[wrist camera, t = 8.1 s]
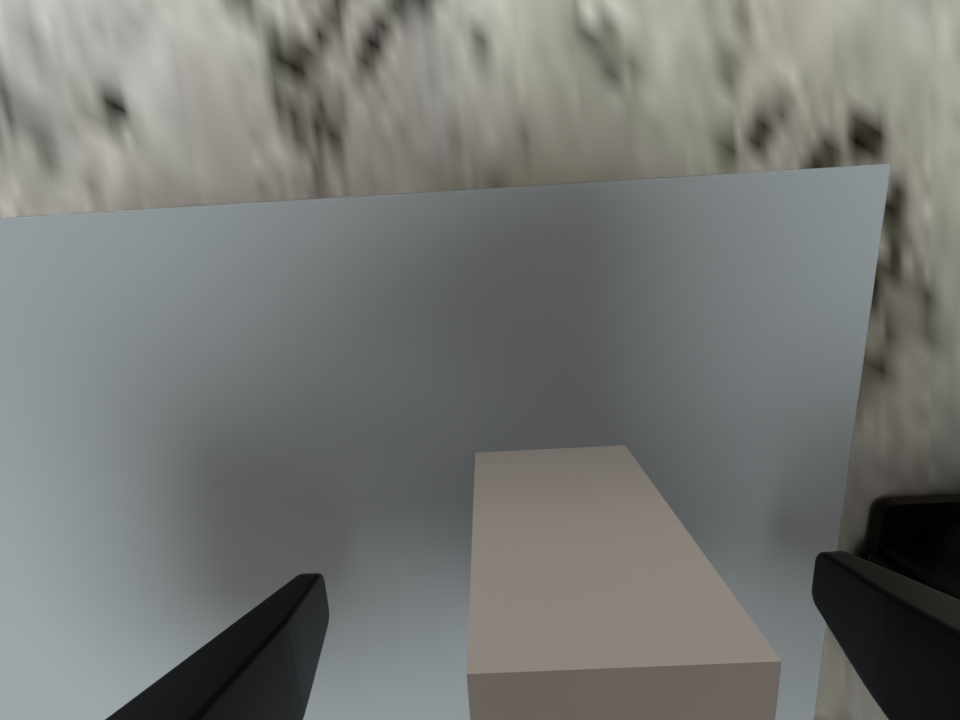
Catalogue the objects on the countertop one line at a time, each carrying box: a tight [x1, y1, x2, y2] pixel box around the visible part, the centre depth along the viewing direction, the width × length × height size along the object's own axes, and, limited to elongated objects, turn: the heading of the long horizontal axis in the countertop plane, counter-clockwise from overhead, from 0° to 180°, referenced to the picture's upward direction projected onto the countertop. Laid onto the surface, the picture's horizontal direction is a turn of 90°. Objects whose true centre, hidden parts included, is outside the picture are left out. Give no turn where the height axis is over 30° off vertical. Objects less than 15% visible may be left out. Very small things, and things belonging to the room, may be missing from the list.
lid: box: [0, 164, 891, 720], centre depth 8 cm, size 20×14×6 cm
